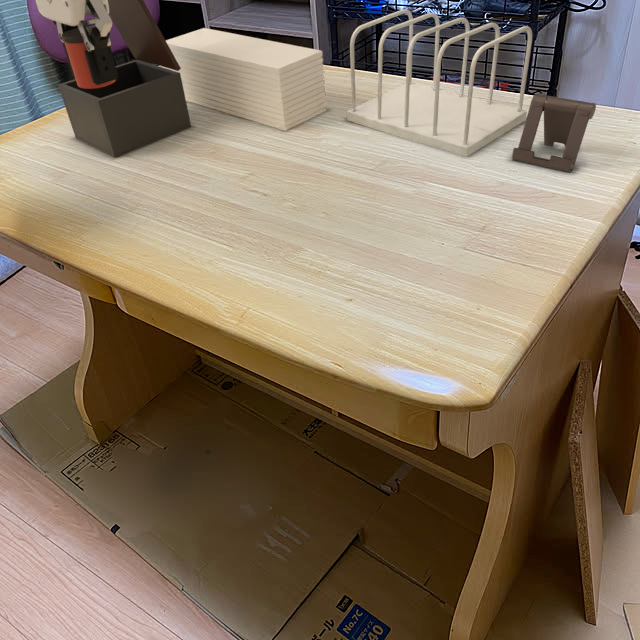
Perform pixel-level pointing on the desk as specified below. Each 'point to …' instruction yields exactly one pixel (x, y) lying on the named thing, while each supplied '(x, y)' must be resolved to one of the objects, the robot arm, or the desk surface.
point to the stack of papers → (251, 77)
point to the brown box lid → (141, 32)
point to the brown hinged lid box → (128, 108)
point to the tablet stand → (555, 130)
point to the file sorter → (439, 96)
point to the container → (80, 59)
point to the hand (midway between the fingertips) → (94, 75)
